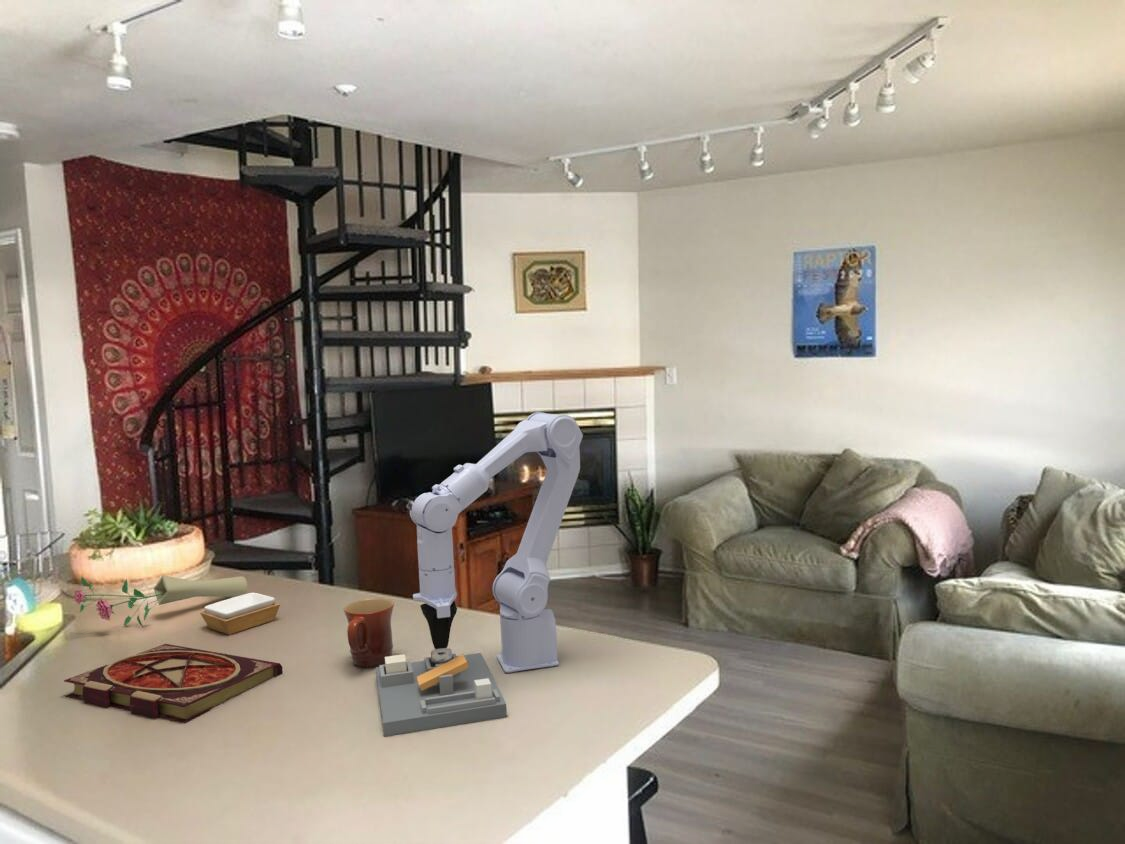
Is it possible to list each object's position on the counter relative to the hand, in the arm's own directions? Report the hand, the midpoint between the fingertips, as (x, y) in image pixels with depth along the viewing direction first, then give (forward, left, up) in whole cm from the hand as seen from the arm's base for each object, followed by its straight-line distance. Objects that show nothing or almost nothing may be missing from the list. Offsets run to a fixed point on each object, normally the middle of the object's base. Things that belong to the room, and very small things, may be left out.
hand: (440, 647), depth 138 cm
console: (+1, +5, -6) cm, 8 cm away
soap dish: (+36, -46, -7) cm, 58 cm away
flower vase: (+52, -57, -7) cm, 77 cm away
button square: (+7, 0, -3) cm, 8 cm away
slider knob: (-5, +13, -4) cm, 15 cm away
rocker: (0, +7, -2) cm, 7 cm away
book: (+44, -16, -7) cm, 47 cm away
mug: (+11, -13, -6) cm, 18 cm away
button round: (0, 0, -3) cm, 3 cm away
